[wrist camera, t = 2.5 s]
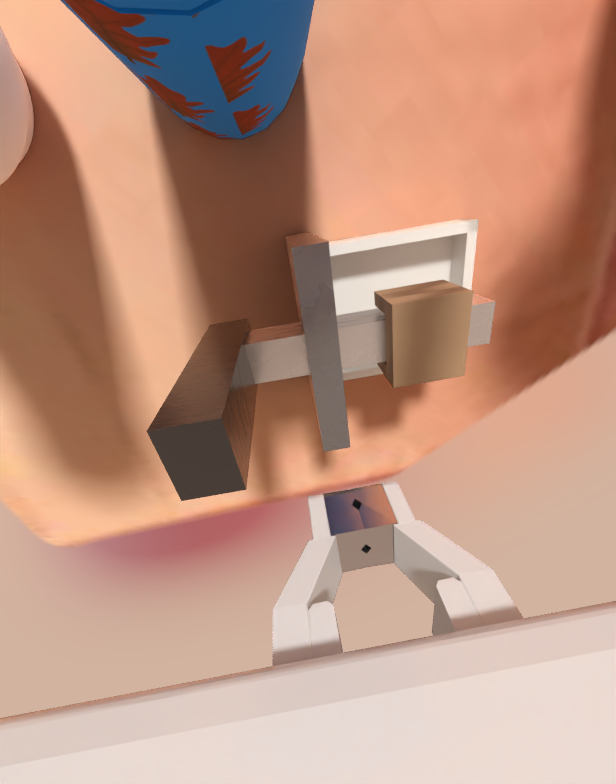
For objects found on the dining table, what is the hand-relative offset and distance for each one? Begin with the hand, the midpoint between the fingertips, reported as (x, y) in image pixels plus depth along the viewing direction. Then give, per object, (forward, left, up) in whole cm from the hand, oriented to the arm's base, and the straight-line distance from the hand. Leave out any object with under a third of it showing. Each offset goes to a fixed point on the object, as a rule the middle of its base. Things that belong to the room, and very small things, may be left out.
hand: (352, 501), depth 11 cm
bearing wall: (-1, 0, -22) cm, 22 cm away
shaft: (-3, 0, -17) cm, 17 cm away
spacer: (-8, 0, -15) cm, 17 cm away
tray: (-8, 0, -22) cm, 24 cm away
